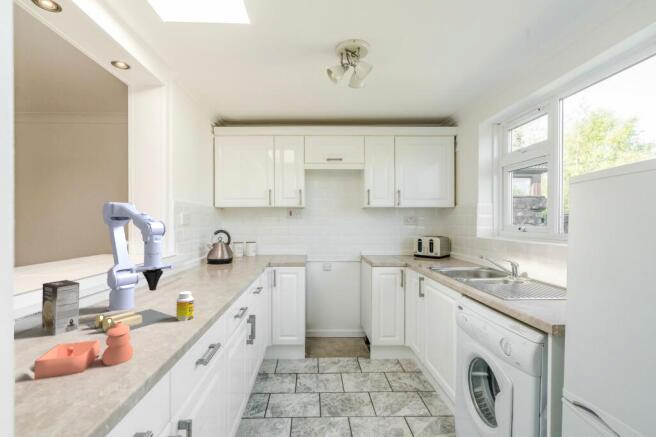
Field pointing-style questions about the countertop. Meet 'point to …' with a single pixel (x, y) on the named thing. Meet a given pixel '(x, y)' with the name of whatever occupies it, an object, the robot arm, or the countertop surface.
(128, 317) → the cream beveled panel
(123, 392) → the countertop surface
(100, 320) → the bench dogs
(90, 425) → the countertop surface
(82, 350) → the pottery
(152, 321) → the board
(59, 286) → the coffee box
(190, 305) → the supplement bottle
